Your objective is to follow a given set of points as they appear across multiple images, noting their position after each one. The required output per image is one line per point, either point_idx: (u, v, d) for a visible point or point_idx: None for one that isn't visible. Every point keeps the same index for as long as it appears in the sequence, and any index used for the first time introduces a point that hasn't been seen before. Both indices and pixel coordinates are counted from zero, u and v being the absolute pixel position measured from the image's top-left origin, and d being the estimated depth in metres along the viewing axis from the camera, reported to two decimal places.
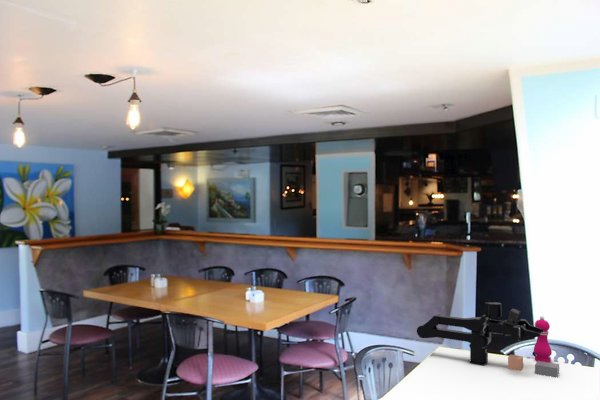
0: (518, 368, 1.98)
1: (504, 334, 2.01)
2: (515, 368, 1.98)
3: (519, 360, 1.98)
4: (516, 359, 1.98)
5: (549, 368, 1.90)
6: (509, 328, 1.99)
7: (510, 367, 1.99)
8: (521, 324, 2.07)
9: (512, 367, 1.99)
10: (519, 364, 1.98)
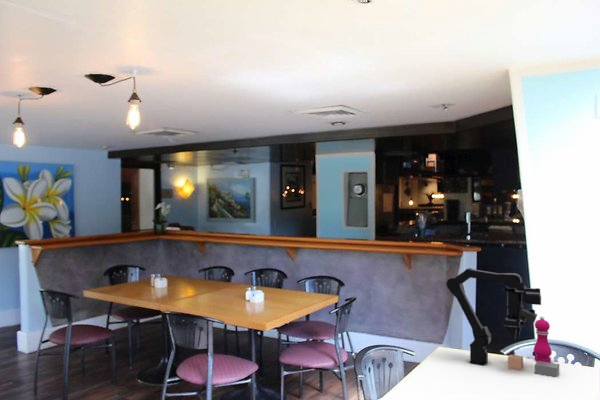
0: (518, 368, 1.98)
1: (507, 307, 2.01)
2: (515, 368, 1.98)
3: (519, 360, 1.98)
4: (516, 359, 1.98)
5: (549, 368, 1.90)
6: (514, 312, 1.99)
7: (510, 367, 1.99)
8: None
9: (512, 367, 1.99)
10: (519, 364, 1.98)
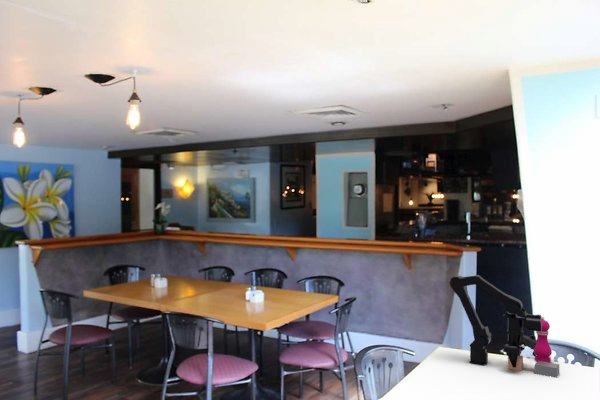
0: (518, 368, 1.98)
1: (508, 332, 2.01)
2: (515, 368, 1.98)
3: (519, 360, 1.98)
4: None
5: (549, 368, 1.90)
6: (515, 338, 1.99)
7: (510, 367, 1.99)
8: None
9: (512, 367, 1.99)
10: (519, 364, 1.98)
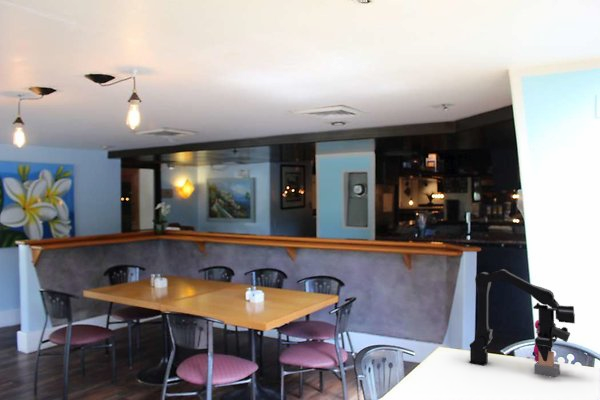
0: (549, 364, 1.91)
1: (539, 324, 1.94)
2: (546, 364, 1.92)
3: (550, 355, 1.91)
4: None
5: (548, 368, 1.90)
6: (547, 330, 1.92)
7: (541, 363, 1.93)
8: None
9: (543, 363, 1.93)
10: (550, 360, 1.91)
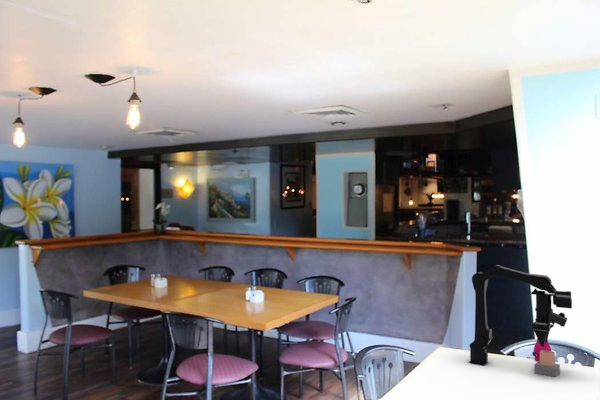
0: (551, 364, 1.91)
1: (536, 310, 1.95)
2: (547, 364, 1.92)
3: (552, 356, 1.91)
4: (548, 355, 1.92)
5: (548, 368, 1.90)
6: (544, 316, 1.93)
7: (542, 363, 1.93)
8: None
9: (544, 363, 1.92)
10: (552, 360, 1.91)
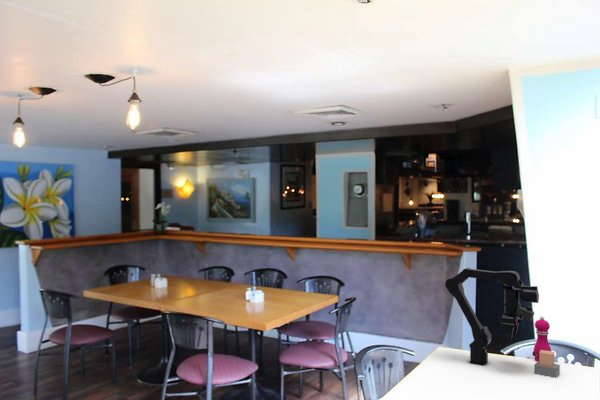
0: (550, 364, 1.91)
1: (505, 304, 2.01)
2: (547, 364, 1.92)
3: (551, 355, 1.91)
4: (548, 354, 1.92)
5: (548, 368, 1.90)
6: (512, 310, 1.99)
7: (542, 363, 1.93)
8: None
9: (544, 363, 1.93)
10: (551, 360, 1.91)
